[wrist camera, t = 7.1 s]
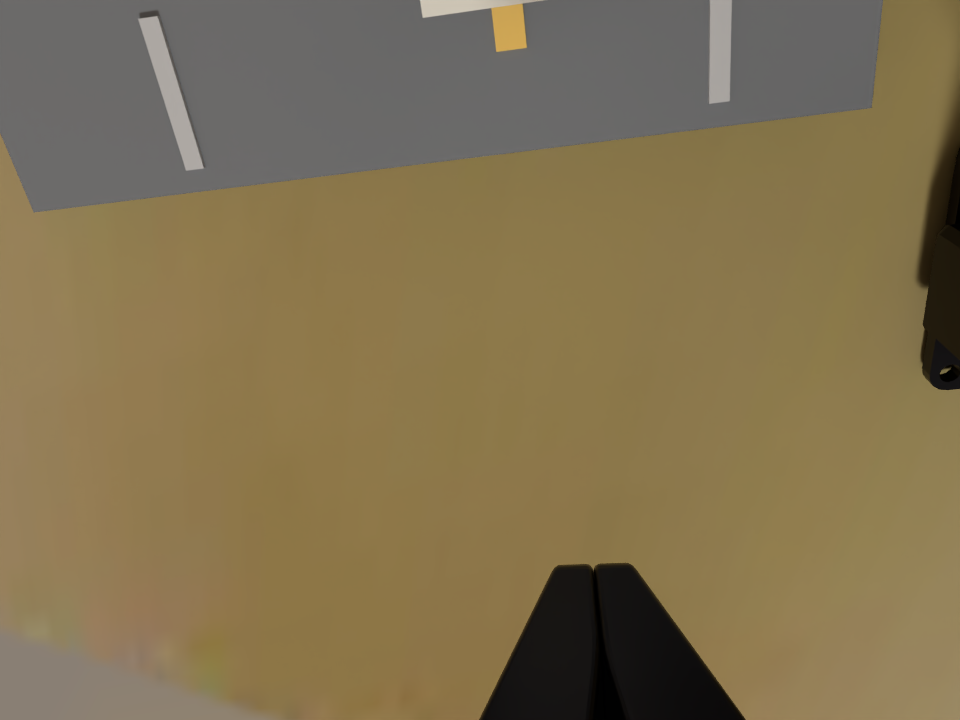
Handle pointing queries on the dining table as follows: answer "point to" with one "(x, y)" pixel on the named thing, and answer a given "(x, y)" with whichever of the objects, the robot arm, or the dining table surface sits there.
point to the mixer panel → (392, 83)
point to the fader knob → (463, 5)
